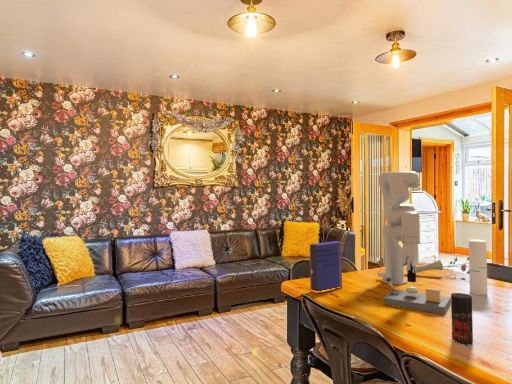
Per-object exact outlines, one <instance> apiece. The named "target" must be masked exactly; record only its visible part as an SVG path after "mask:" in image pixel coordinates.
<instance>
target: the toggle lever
mask: <svg viewBox="0 0 512 384" xmlns="http://www.w3.org/2000/svg"><path fill="white" fill-rule="evenodd" d="M386 281H387V282H389V283H388V284H389V286H390V288H391V291H395V290H394V289H395V288H394V286H393V285H394V284H392V283H391V279H390V278H389V277H387V278H386Z"/></svg>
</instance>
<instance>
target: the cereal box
mask: <svg viewBox="0 0 512 384" xmlns="http://www.w3.org/2000/svg"><path fill="white" fill-rule="evenodd" d="M342 264H343V263H342V242H341V241H337V240H336V241H335V240H333V241H325V242H317V243H311V244H309V280H310V281H309V282H310V290H311V289H312V290H315V291H322V290H327V289H332V288H337V287H342V288H343V272H342V271H343V270H342V269H343V265H342Z"/></svg>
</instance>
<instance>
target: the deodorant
mask: <svg viewBox="0 0 512 384" xmlns="http://www.w3.org/2000/svg"><path fill="white" fill-rule="evenodd" d="M450 297H451V305H450V308H451V309H450V310H451V312H450V313H451V340H454V341H455V342H457V343H456V344H458V343H460V344H459V345H462V344H471V345H473V344H474V336H473V335H474V334H473V333H474V332H473V328H474V327H473V296H472V295H470V294H467V293H463V292H453V293H451V294H450ZM454 341H453V342H454ZM455 342H454V343H455ZM472 343H473V344H472Z"/></svg>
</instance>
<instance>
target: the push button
mask: <svg viewBox="0 0 512 384" xmlns="http://www.w3.org/2000/svg"><path fill="white" fill-rule="evenodd" d="M405 291H406V292H407V293H412V294H415V293H418V287H416V286H413V285H412V286H411V285H410V286H406V290H405Z"/></svg>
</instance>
